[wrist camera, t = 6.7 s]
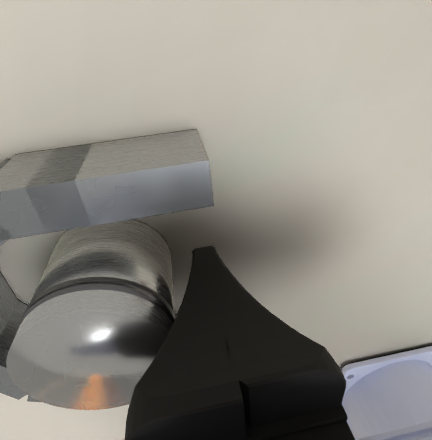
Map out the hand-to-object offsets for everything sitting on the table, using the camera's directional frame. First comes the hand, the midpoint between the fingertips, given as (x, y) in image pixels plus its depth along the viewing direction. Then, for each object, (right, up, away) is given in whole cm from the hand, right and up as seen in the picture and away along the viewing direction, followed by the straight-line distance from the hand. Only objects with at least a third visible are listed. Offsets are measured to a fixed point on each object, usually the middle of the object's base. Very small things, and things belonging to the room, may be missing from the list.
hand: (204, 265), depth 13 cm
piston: (-4, 0, +1) cm, 4 cm away
